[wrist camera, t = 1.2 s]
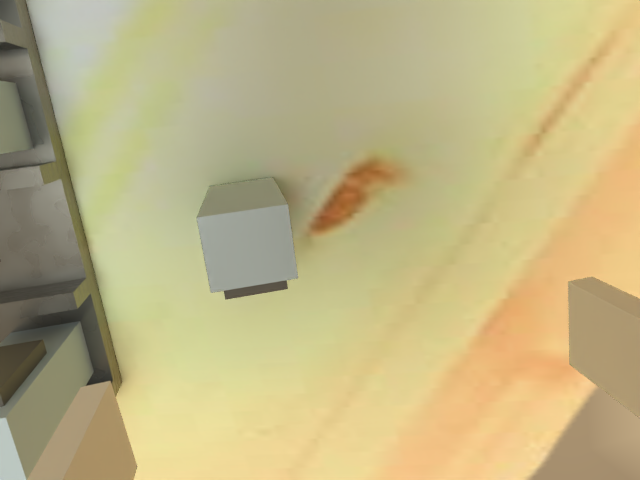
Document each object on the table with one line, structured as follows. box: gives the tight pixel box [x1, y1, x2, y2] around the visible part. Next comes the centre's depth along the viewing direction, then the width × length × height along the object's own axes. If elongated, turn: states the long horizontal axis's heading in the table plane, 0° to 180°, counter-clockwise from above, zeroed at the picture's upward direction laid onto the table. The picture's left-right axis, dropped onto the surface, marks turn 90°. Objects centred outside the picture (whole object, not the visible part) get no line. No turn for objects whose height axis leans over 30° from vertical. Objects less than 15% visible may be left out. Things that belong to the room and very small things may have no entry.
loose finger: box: [197, 177, 298, 299], centre depth 27 cm, size 4×4×10 cm
